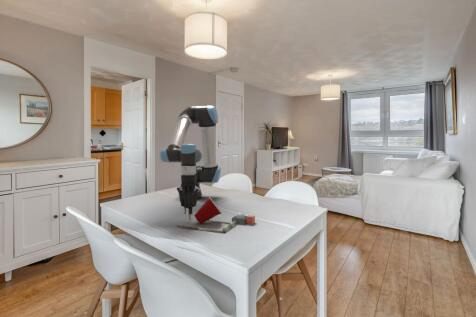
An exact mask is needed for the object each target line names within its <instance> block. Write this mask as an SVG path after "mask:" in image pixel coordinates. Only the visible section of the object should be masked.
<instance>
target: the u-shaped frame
mask: <svg viewBox="0 0 476 317" xmlns="http://www.w3.org/2000/svg"><path fill="white" fill-rule="evenodd" d="M207 222H213V223H218V224H219V223H220V224H224V225H225V224H226V225H225V226H224V227H222V229H221V230H220V229H214V228H213V229H212V228H205V227H194V226H188V225H178V224H177V225H176V226H175V227H176V228H177V229H186V230H195V231H205V232H211V233H220V234H225V233H227V232H228V231H230V229H232V228H234V227H235V226H236V225H237V224H236V221H234V222H232V221H231V222H230V221H229V222H228V221H220V220H219V221H217V220H212V219H210V220H208V221H207Z"/></svg>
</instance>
